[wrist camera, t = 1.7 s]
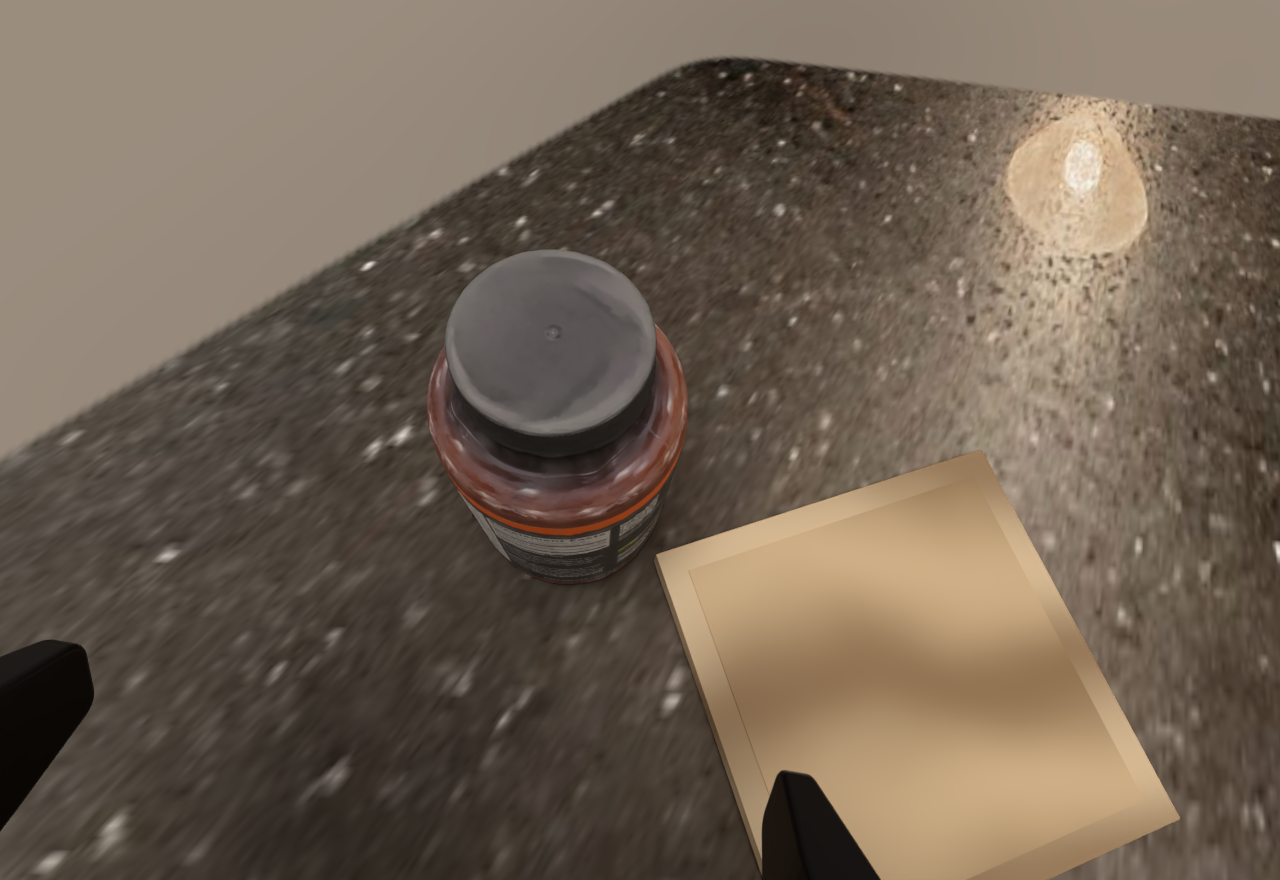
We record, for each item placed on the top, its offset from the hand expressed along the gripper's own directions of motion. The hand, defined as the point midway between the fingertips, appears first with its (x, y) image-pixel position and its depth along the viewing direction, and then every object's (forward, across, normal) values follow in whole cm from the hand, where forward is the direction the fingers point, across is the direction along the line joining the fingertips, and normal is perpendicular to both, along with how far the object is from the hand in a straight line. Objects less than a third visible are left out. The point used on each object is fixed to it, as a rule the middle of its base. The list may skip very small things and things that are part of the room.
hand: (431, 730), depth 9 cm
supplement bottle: (+14, 0, +4) cm, 15 cm away
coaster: (+11, -11, +7) cm, 17 cm away
